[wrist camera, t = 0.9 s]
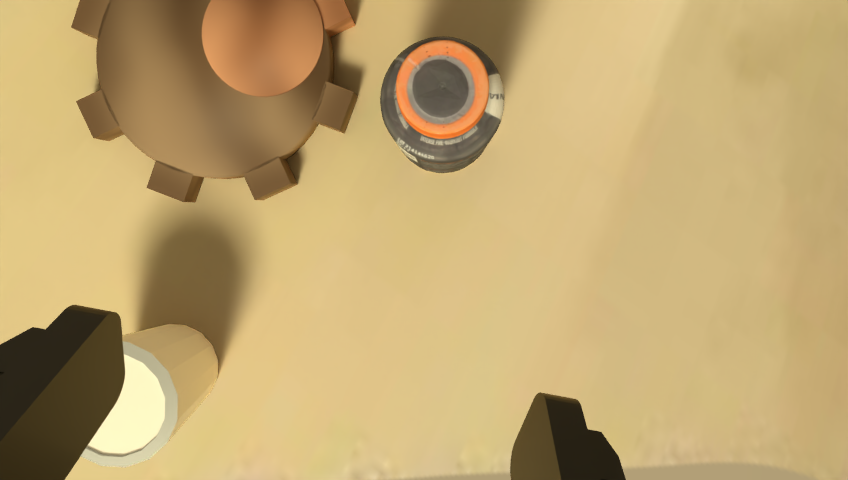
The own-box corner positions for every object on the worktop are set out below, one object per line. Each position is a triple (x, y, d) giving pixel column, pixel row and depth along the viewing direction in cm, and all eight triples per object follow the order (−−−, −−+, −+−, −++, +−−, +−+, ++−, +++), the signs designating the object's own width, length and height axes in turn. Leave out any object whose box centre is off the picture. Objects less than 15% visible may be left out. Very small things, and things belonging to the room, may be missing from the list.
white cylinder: (103, 376, 36) (23, 417, 29) (162, 292, 36) (95, 314, 29) (188, 438, 36) (129, 494, 29) (249, 356, 36) (203, 392, 29)
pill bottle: (501, 91, 34) (531, 35, 23) (475, 184, 35) (492, 174, 23) (408, 66, 34) (393, -2, 23) (383, 159, 35) (356, 137, 24)
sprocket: (288, -124, 34) (280, -143, 32) (404, 135, 35) (402, 131, 33) (41, -4, 35) (19, -15, 33) (159, 247, 36) (144, 249, 34)
